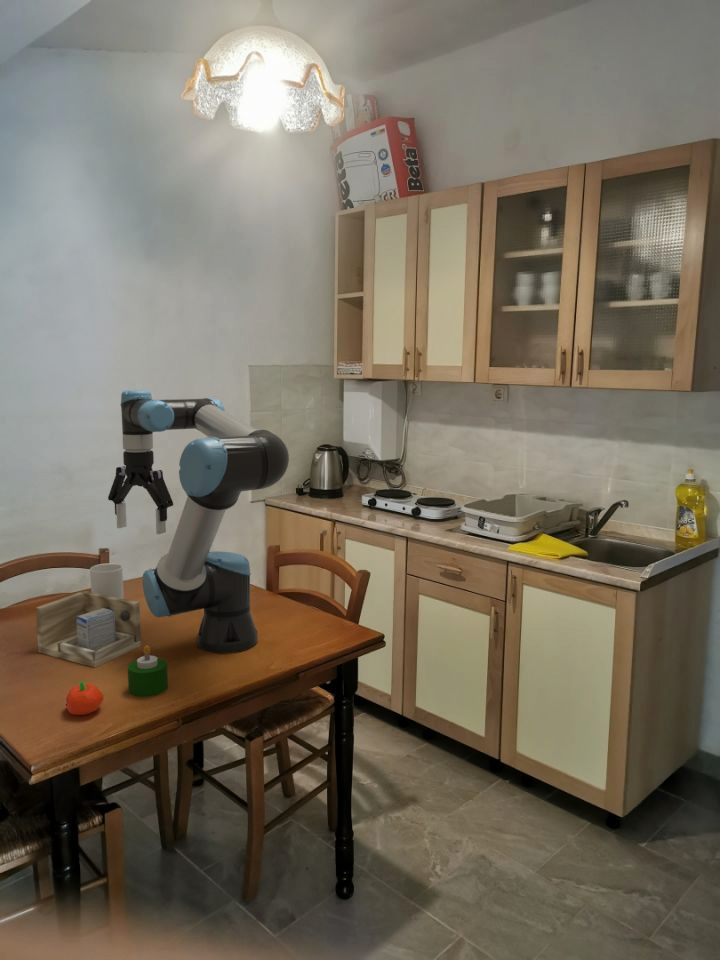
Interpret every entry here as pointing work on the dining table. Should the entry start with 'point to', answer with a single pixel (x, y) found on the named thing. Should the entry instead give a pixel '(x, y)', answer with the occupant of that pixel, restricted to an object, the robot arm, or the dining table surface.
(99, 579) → the cup
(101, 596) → the wooden rack
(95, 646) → the medicine box
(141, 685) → the candle
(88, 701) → the tomato
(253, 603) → the dining table surface
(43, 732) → the dining table surface
